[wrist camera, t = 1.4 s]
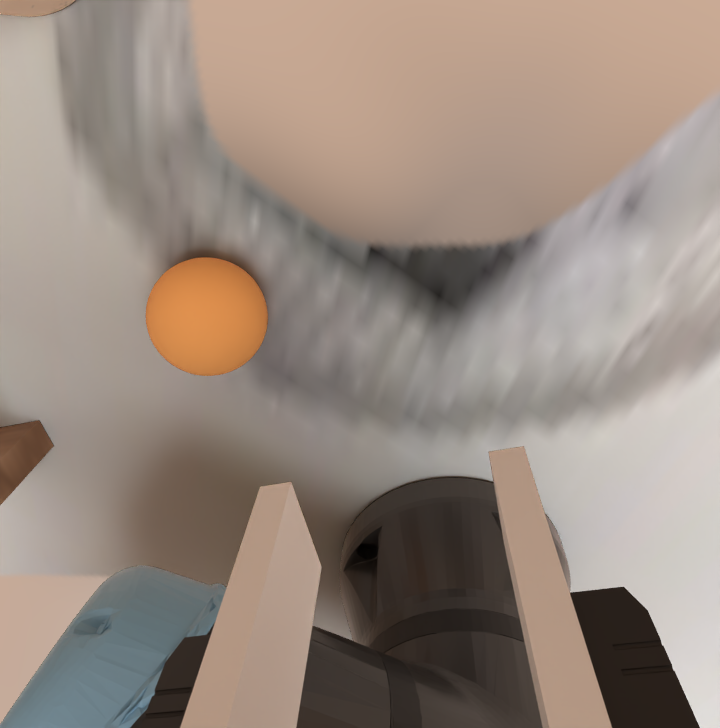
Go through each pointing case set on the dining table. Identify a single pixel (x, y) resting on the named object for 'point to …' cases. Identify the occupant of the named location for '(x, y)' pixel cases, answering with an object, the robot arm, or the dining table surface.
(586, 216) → the dining table surface
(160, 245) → the dining table surface
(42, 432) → the bridge
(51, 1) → the teacup with lid
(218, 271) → the ball
